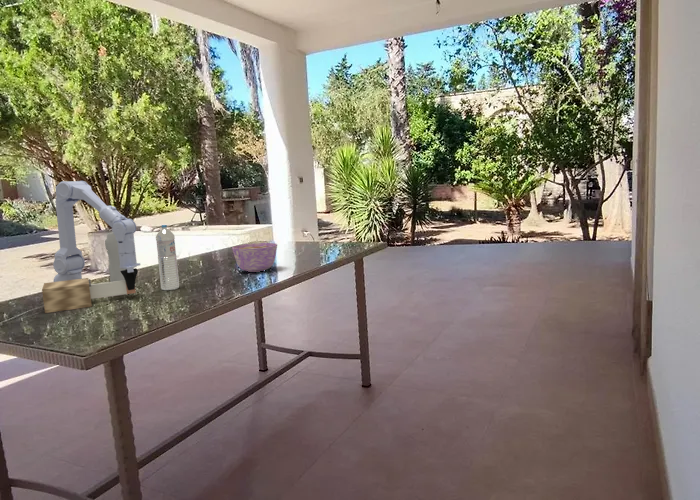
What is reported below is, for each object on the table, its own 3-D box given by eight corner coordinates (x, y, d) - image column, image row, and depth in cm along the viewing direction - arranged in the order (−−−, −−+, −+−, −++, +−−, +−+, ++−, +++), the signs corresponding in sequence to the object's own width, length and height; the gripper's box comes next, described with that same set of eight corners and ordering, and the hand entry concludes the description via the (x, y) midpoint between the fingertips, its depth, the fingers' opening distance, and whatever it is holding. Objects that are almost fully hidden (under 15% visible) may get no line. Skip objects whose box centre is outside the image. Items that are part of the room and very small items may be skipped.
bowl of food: (226, 276, 226) (224, 249, 225) (243, 268, 246) (241, 243, 244) (271, 275, 223) (269, 248, 221) (284, 267, 242) (282, 242, 241)
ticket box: (45, 313, 174) (41, 289, 173) (47, 305, 186) (44, 283, 185) (93, 306, 180) (90, 283, 179) (92, 298, 193) (90, 277, 192)
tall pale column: (135, 280, 226) (130, 230, 223) (130, 282, 222) (125, 231, 219) (112, 281, 227) (106, 231, 224) (107, 283, 223) (101, 232, 220)
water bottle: (169, 291, 199) (162, 226, 196) (157, 290, 203) (150, 226, 200) (183, 287, 205) (177, 224, 202) (171, 286, 209) (165, 224, 205)
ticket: (77, 300, 184) (76, 286, 183) (77, 300, 185) (76, 286, 184) (135, 292, 192) (134, 279, 191) (135, 292, 193) (134, 278, 193)
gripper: (140, 253, 186) (145, 290, 187) (136, 249, 198) (140, 284, 200) (119, 255, 182) (123, 293, 184) (116, 251, 195) (120, 287, 197)
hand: (131, 289), depth 192 cm, fingers closed on ticket
